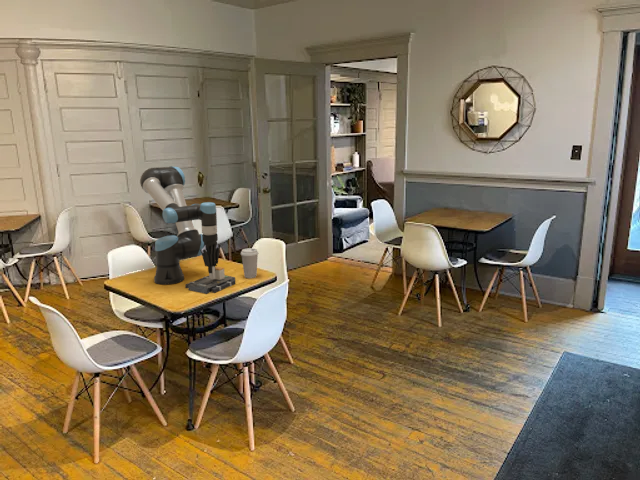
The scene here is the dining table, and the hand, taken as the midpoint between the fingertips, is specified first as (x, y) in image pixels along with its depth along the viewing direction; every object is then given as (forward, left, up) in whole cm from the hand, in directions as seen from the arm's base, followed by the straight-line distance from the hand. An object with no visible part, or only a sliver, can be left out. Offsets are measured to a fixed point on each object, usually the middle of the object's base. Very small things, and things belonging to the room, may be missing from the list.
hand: (212, 278), depth 249 cm
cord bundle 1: (-8, 0, -4) cm, 9 cm away
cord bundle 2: (+8, 0, -4) cm, 9 cm away
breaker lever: (0, +5, -1) cm, 5 cm away
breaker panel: (0, 0, -4) cm, 4 cm away
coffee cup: (+8, +22, -4) cm, 23 cm away
